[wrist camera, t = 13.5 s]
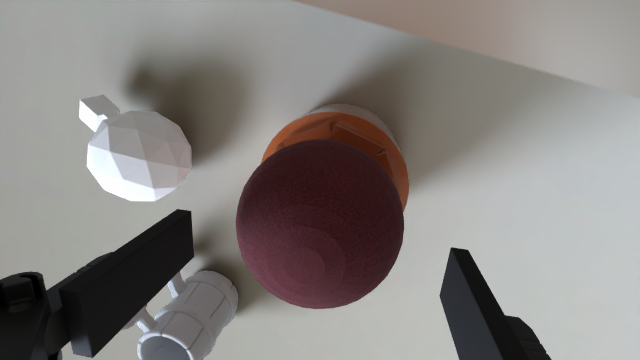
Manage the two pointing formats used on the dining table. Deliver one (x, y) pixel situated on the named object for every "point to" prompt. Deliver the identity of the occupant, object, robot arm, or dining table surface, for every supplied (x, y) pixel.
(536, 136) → the dining table surface
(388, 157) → the pedestal
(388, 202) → the decorative ball
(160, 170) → the perfume bottle
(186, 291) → the mug
